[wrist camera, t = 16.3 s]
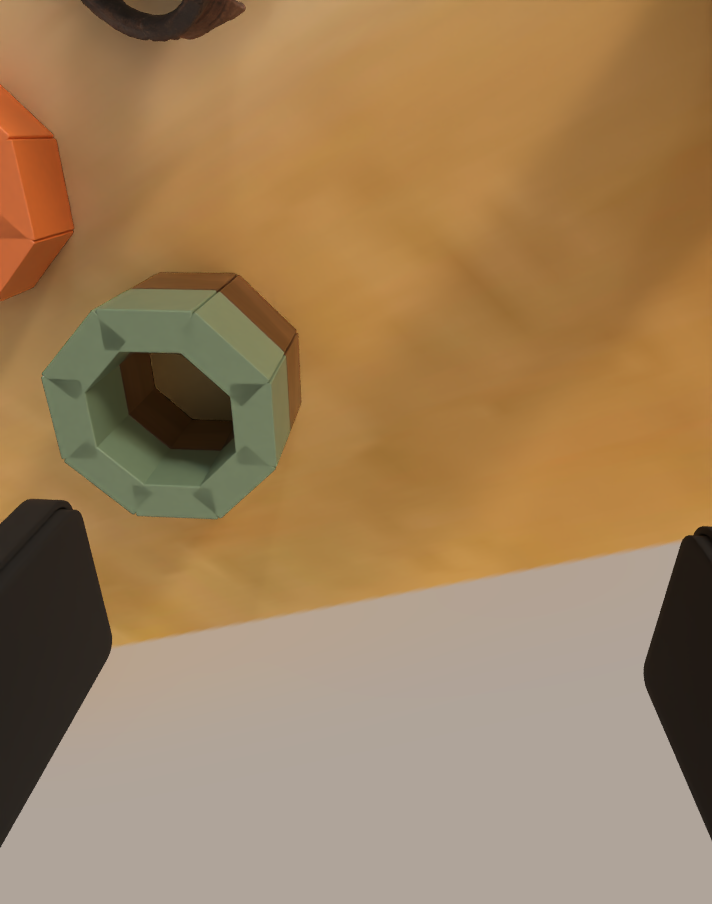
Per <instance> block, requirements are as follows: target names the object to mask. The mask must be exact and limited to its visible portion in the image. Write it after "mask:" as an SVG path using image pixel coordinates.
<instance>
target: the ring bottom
mask: <svg viewBox="0 0 712 904" xmlns="http://www.w3.org/2000/svg"><path fill="white" fill-rule="evenodd" d="M131 289H176V290H215V291H216V292H217V293H218V292H221V293H222V294H223V295H224V296H225V297H226V298H227V299H228V300H229V301H230V302H231V303H232V304H233V305H235V306H236V307H237V308H238V309H239V310H240V311H241V312H242V313H243V314H244V315H245V316H246V317H247V318H248V319H249V320H250V321H251V322H253V323H254V324H255V325H256V326H257V327H258V328H259V329H260V330H261V331H262V332H263V333H264V334H265V335H266V336H267V337H268V338H270V339H271V340H272V341H273V342H274V343H275V344H276V345H277V346H278V347H279V348H280V349H281V350H282V351H283V352H284V355H285V356H286V363H287V381H288V399H289V417H290V430H291V428H292V425H293V423H294V420H295V418H296V415H297V412H298V410H299V407H300V405H301V385H300V363H299V340H298V333H296V329H295V328H294V327H293V326H292V325H290V324H289V323H288V322H287V321H286V320H285V319H284V318H283V317H282V316H281V315H280V314H279V313H278V312H277V311H276V310H275V309H274V308H273V307H272V306H271V305H270V304H269V303H268V302H267V301H266V300H265V299H264V298H262V297H261V296H260V295H259V294H258V293H257V292H256V291H255V290H254V289H253V288H252V287H251V286H250V285H249V284H248V283H247V282H246V281H245V280H244V279H243V278H242V277H241V276H239V275H238V276H236V274H233V273H169V272H160V273H158V274H155V275H154V276H152V277H150V278H148V279H147V280H145V281H143V282H141V283H140V284H138V285H136V286H134V287H133V288H131ZM129 290H130V289H129ZM119 367H120V372H121V377H122V382H123V388H124V393H125V398H126V403H127V409H128V414H129V416H131V417H132V418H133V419H134V420H136V421H137V422H138V423H139V424H140V425H142V426H143V427H144V428H145V429H146V430H148V431H149V432H150V433H151V434H153V435H154V436H155V437H156V438H157V439H159V440H160V441H161V442H162V443H163V444H165V445H166V446H167V447H168V448H170V449H181V450H210V451H221V450H222V449H223V448H224V447H225V446H226V445H227V444H228V443H229V442H230V441H231V440H232V439H233V438H234V430H233V421H216V420H192V419H191V418H190V417H189V416H187V415H186V414H185V413H184V412H183V411H182V410H180V409H179V408H178V407H177V406H176V405H174V404H173V403H172V402H171V401H170V400H169V399H167V398H166V397H165V396H164V395H163V394H162V393H160V392H159V391H158V390H157V389H156V388H155V386H154V380H153V374H152V368H151V362H150V356H149V353H144V352H130V353H129V354H128V355H127V357H126V358H125V359H124V360H123V361H122V362H121V364H120V365H119Z"/></svg>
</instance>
